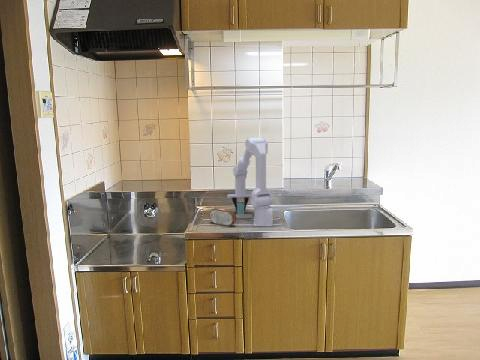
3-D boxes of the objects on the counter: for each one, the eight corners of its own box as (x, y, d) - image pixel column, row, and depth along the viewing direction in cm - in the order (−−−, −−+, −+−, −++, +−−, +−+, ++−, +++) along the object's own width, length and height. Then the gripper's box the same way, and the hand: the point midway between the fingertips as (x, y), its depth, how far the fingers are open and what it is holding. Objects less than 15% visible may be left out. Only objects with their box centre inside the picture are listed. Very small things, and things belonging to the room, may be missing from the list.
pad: (252, 215, 216) (252, 214, 216) (252, 219, 209) (252, 217, 208) (235, 215, 217) (235, 214, 216) (235, 219, 209) (235, 218, 209)
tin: (236, 225, 198) (236, 209, 196) (233, 227, 195) (233, 211, 193) (212, 221, 205) (211, 206, 204) (208, 223, 202) (208, 207, 201)
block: (244, 212, 223) (244, 201, 222) (244, 214, 219) (244, 203, 218) (237, 212, 223) (237, 201, 222) (237, 214, 220) (236, 203, 218)
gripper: (253, 185, 223) (253, 208, 225) (227, 185, 223) (228, 208, 225) (253, 188, 216) (253, 211, 218) (227, 188, 216) (227, 212, 218)
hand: (240, 210), depth 221 cm, fingers closed on block, 4 cm apart
